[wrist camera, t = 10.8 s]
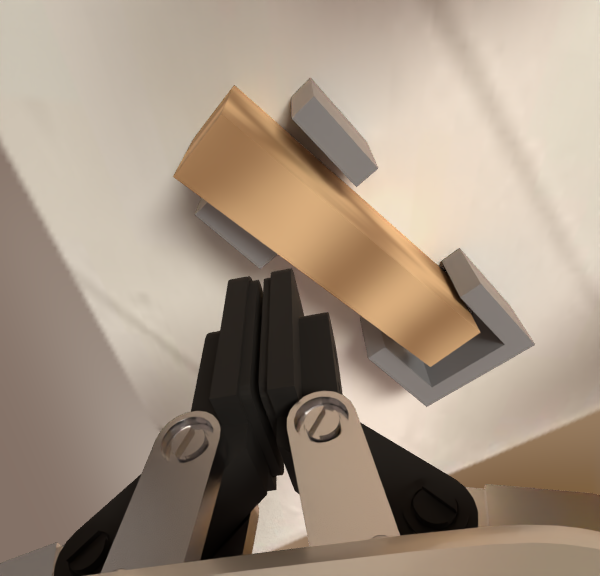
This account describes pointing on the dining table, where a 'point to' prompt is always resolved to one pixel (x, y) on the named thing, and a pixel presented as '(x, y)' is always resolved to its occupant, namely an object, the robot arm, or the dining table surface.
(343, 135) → the sleeve
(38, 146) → the dining table surface
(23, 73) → the dining table surface
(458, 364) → the grey u-channel holder
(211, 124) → the slat
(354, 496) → the robot arm
